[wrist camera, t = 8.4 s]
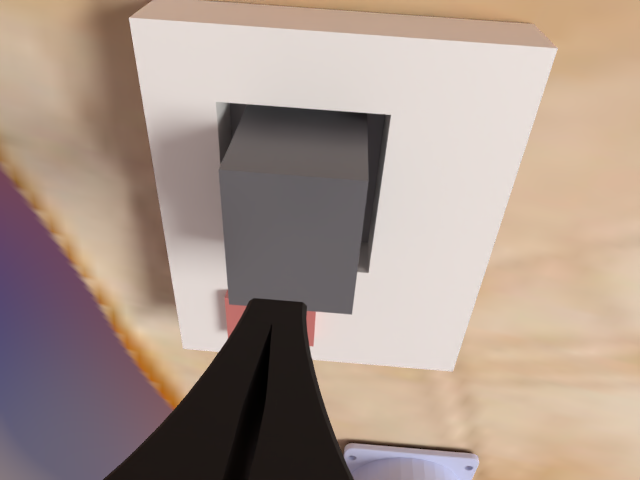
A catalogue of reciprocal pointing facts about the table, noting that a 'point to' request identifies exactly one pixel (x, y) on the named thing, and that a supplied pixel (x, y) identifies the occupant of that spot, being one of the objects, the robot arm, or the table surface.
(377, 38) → the socket
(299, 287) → the plug
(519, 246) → the table surface
